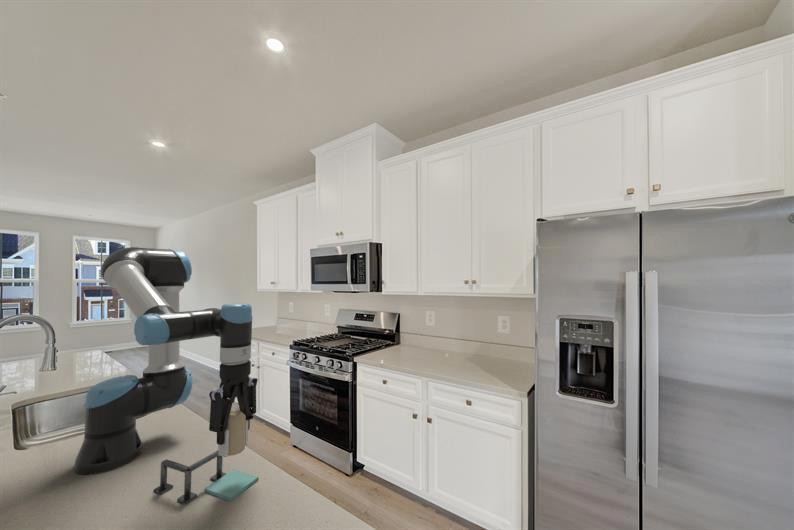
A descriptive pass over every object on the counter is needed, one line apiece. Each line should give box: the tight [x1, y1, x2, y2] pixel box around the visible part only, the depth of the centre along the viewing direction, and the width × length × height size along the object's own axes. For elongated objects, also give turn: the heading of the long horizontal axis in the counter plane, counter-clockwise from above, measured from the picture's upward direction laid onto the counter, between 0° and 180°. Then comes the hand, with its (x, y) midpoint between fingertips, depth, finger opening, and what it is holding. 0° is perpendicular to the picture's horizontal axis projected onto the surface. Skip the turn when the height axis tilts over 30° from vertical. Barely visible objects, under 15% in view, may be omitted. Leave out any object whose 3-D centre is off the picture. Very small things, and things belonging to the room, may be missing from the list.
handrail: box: [152, 450, 227, 505], centre depth 86 cm, size 12×12×8 cm
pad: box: [204, 469, 259, 502], centre depth 85 cm, size 9×9×1 cm
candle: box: [226, 409, 246, 457], centre depth 86 cm, size 6×6×10 cm
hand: (233, 449), depth 86 cm, fingers closed on candle, 5 cm apart
